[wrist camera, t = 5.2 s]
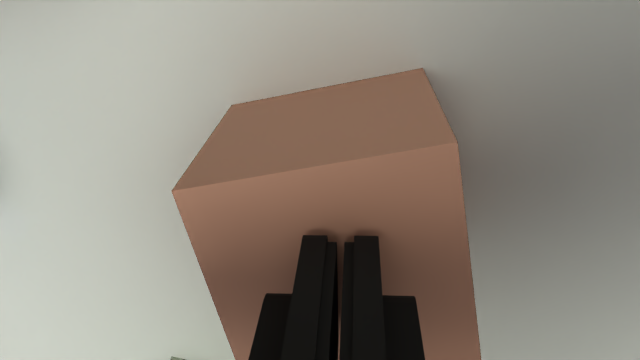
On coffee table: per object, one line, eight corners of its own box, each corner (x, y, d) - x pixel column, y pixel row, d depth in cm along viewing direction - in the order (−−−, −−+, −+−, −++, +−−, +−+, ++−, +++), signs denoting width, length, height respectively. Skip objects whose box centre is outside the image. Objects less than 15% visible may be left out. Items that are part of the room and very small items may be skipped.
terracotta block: (422, 67, 15) (458, 142, 10) (444, 235, 18) (482, 366, 13) (232, 104, 16) (171, 191, 11) (278, 259, 19) (247, 391, 13)
